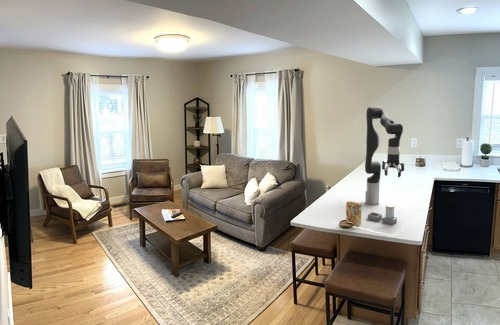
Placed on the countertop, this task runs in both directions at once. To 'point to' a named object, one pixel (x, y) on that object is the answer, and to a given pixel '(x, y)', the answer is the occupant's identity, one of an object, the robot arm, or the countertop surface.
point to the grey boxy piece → (381, 219)
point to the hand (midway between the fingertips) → (392, 176)
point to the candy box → (353, 212)
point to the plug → (390, 211)
